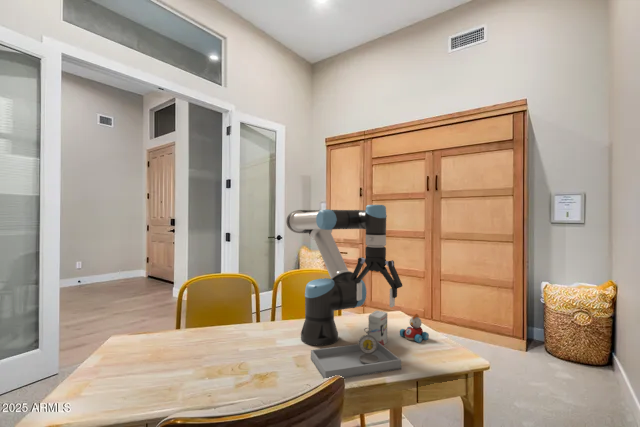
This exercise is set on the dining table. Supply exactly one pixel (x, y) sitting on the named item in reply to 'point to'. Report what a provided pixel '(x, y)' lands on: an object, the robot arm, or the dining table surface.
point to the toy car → (414, 330)
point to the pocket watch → (367, 356)
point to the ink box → (378, 326)
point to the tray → (352, 361)
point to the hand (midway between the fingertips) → (375, 303)
